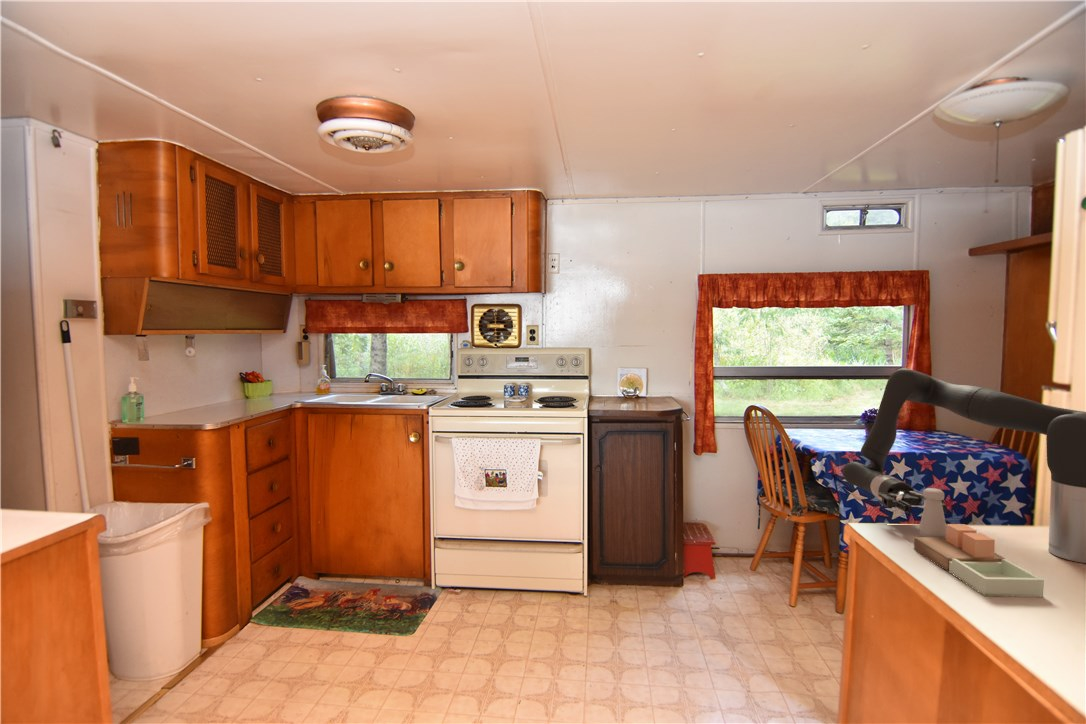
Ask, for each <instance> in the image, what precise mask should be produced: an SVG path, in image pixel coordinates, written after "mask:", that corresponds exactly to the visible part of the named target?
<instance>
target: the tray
mask: <svg viewBox="0 0 1086 724" xmlns="http://www.w3.org/2000/svg"><path fill="white" fill-rule="evenodd" d="M949 572H951V573H952V574H954V575H955V576H957V577H958V578H960V579H961V580H963V581H964V582H965V583H964V582H963V581H962V582H963V583H964V584H966V583H967V584H968V585H967V584H966V585H967V586H969V585H970V586H971V587H970V586H969V587H970V588H972V587H973V588H974V589H973V588H972V589H973V590H975V589H976V590H977V591H976V590H975V591H976V592H978V591H979V592H980V593H979V592H978V593H979V594H980V595H982V594H983V595H982V596H984V597H1009V596H1011V597H1014V596H1016V597H1018V598H1019V597H1020V596H1021V597H1020V598H1023V597H1024V598H1027V597H1029V598H1031V597H1032V598H1044V590H1045V589H1044V588H1045V587H1044V585H1045V579H1044V578H1042V577H1039V576H1038V575H1036V574H1034V573H1033V572H1030V571H1028V570H1026V569H1025V568H1023V567H1021V566H1019V565H1017V564H1016V563H1014V562H1012V561H1010V560H1009V559H1006V558H1005V559H1002V562H961V561H959V560H957V559H953V558H952V561H949ZM949 572H948V573H949ZM952 574H951V575H952ZM954 575H953V576H954ZM955 576H954V577H955ZM957 577H956V578H957ZM958 578H957V579H958ZM960 579H959V580H960ZM961 580H960V581H961ZM1016 597H1014V598H1016Z"/></svg>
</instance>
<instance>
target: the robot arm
mask: <svg viewBox="0 0 1086 724" xmlns="http://www.w3.org/2000/svg"><path fill="white" fill-rule="evenodd" d="M906 401H908V402H912V403H917V404H925V405H930V406H934V407H939V408H943V409H945V410H948V411H950V412H951V413H954V414H956V415H957V416H959V417H962V418H965V419H968V420H971V421H973V422H976V423H980V424H983V425H987V426H991V427H993V428H994V427H995V428H1000V429H1008V430H1013V431H1022V432H1030V433H1036V434H1040V435H1044V436H1046V438H1045V439H1046V444H1045V445H1046V464H1047V468H1048V470H1049V471H1050V494H1049V495H1050V497H1049V498H1050V501H1049V526H1048V527H1049V528H1048V550H1047V551H1048V552H1050V553H1051V554H1052V555H1054V556H1056V557H1059V558H1062V559H1064V560H1068V561H1072V562H1078V563H1083V564H1086V411H1084V410H1083V411H1082V410H1076V409H1069V408H1064V407H1058V406H1052V405H1048V404H1043V403H1040V402H1038V401H1034V400H1032V399H1029V398H1023V397H1020V396H1016V395H1013V394H1009V393H1006V392H1002V391H998V390H995V389H991V388H986V387H983V386H976V385H965V384H954V383H951V382H948V381H944V380H941V379H939V378H937V377H936V378H935V376H931V375H929V374H926V373H924V372H920V371H918V370H914V369H909V368H905V367H904V368H903V367H901V368H899V369H896V370H894V371H893V372H892V373H891V374H890V376H889V378H888V379H887V382H886V385H885V388H884V391H883V395H882V398H881V400H880V404H879V407H878V411H877V413H876V417H875V419H874V423H873V425H872V427H871V429H870V431H869V433H868V434H867V437H866V438H865V441H864V443H863V445H862V447H861V449H860V454H861V456H863V457H864V458H865V459H867V460H869V461H870V462H869V463H870V464H869V465H866V464H864V463H860V462H858V461H849V462H848V463H846V464H845V465H844V466H843V469H842V477H843V479H844V480H845V481H846V482H847V483H848V484H850V485H853V486H854V487H858V488H860V489H862V490H865V491H867V492H868V493H869V494H871V495H873V496H875V497H876V498H877V499H878V501H877V502H878V503H879V504H881V505H882V506H884V507H885V508H887V509H893V508H895V509H897V510H901V511H903V512H905V513H906V514H911V513H912V507H913V508H915V507H916V508H921V509H924V506H925V502H926V498H925V497H924V496H923V493H918V492H917V491H914V489H913V487H912V486H911V485H910V484H908V482H907V483H906V482H904V481H902V480H900V479H898V478H896V477H894V476H890V475H887V474H885V473H884V469H885V468H884V467H885V463H886V460H887V458H888V456H889V453H890V452H891V450H892V448H893V446H894V444H895V441H896V438H897V431H898V418H899V414H900V411H901V409H902V407H903V405H904V404H905V403H906ZM941 502H942V507H943V512H944V514H946V513H947V512H948V511H947V510H948V506H947V505H946V504H945V498H944V499H943V500H941ZM922 503H923V504H922Z"/></svg>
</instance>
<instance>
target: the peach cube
mask: <svg viewBox="0 0 1086 724" xmlns="http://www.w3.org/2000/svg"><path fill="white" fill-rule="evenodd" d="M995 543H996V540H995V539H994V538H992V537H991V536H988V535H986V534H984V533H982V532H977V533H963V542H962V550H963V551H965V552H966V553H968V554H970V555H972V556H973V557H975V558H994V553H995V552H996V551H995V545H996V544H995Z"/></svg>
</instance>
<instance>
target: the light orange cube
mask: <svg viewBox="0 0 1086 724" xmlns="http://www.w3.org/2000/svg"><path fill="white" fill-rule="evenodd" d="M963 533H978V532H977V529H975V528H974V527H973V528H972V527H971V526H968V525H967V524H964V523H946V541H947V542H949V543H951V544H953V545H954V546H956V547H962V542H963Z"/></svg>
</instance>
